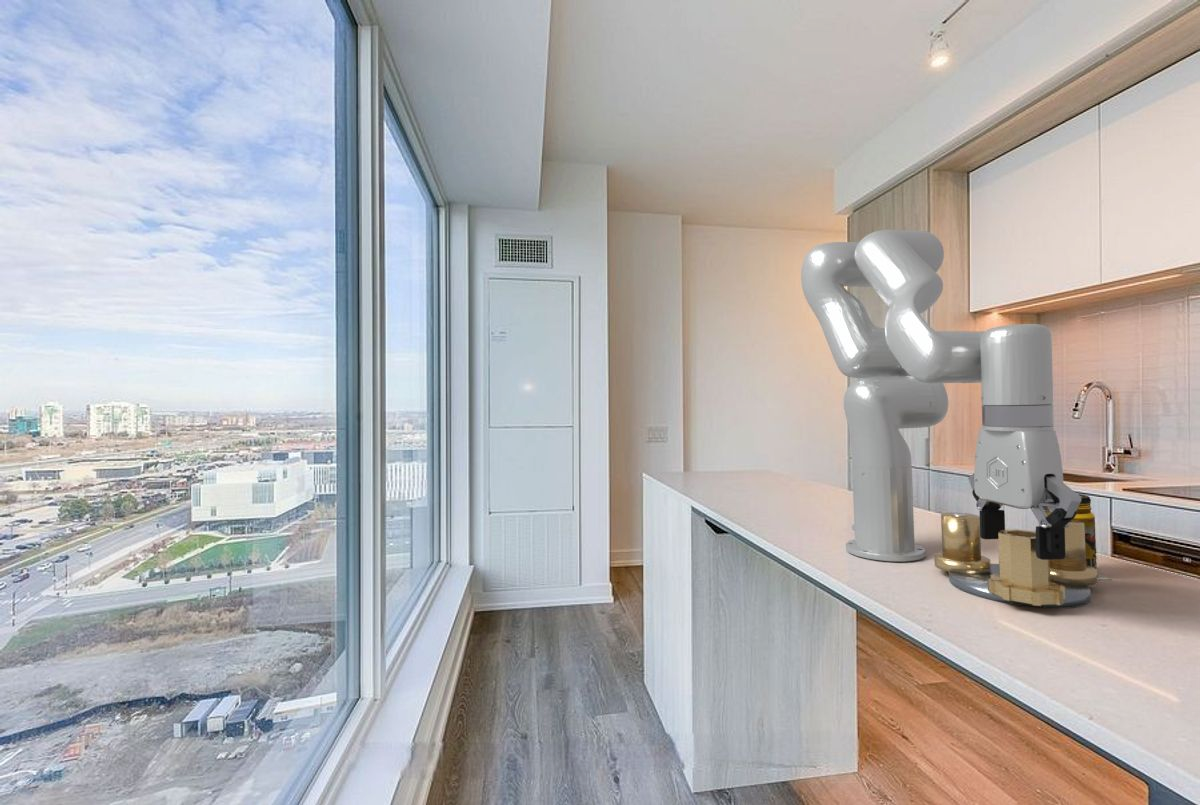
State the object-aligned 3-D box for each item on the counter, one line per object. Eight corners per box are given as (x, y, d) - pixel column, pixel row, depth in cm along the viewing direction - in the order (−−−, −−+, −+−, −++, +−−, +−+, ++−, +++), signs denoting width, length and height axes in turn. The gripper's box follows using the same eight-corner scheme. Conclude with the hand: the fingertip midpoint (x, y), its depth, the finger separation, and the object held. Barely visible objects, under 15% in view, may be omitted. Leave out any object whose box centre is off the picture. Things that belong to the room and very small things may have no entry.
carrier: (919, 569, 88) (917, 511, 88) (1033, 565, 88) (1031, 507, 88) (1002, 610, 70) (999, 536, 70) (1145, 604, 70) (1142, 531, 70)
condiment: (1112, 580, 80) (1109, 498, 80) (1046, 578, 82) (1043, 498, 82) (1079, 566, 87) (1076, 491, 87) (1019, 564, 89) (1016, 490, 89)
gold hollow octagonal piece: (975, 586, 76) (973, 528, 76) (1031, 584, 76) (1029, 526, 76) (1019, 606, 68) (1016, 541, 68) (1081, 604, 68) (1078, 539, 68)
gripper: (946, 417, 81) (948, 533, 81) (1043, 422, 64) (1046, 569, 64) (996, 416, 81) (998, 531, 81) (1106, 420, 64) (1109, 567, 64)
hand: (1019, 548), depth 72 cm, fingers open, 9 cm apart
